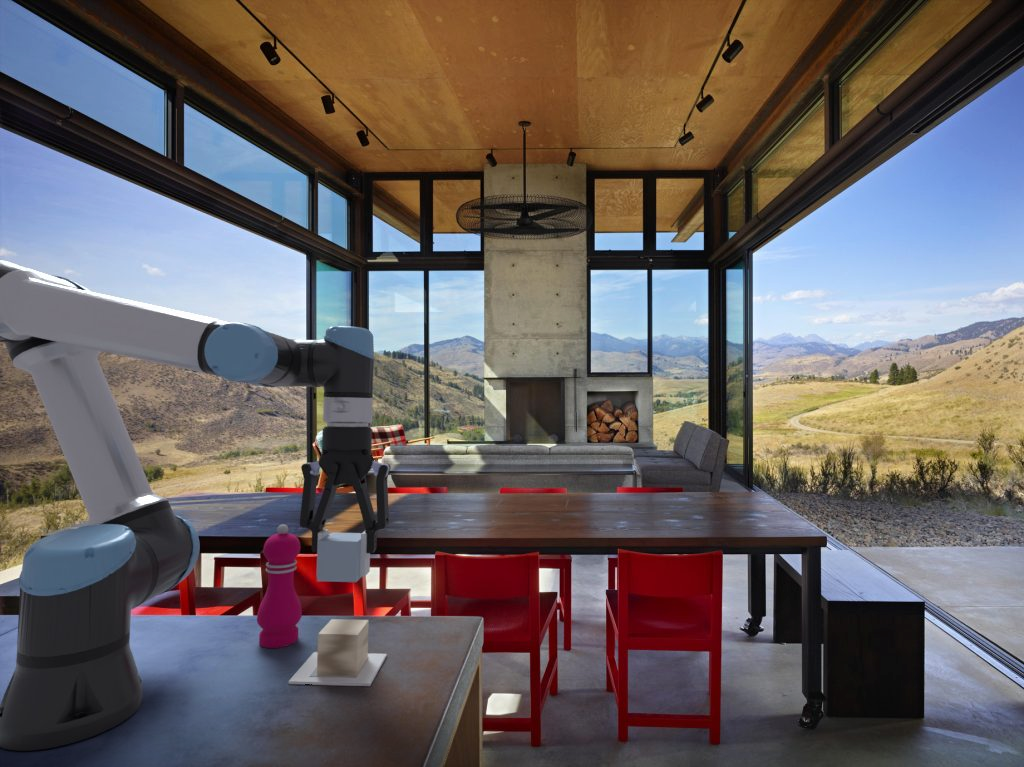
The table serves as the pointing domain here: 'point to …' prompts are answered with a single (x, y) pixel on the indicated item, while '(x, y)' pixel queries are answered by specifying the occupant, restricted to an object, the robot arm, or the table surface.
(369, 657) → the mat
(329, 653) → the maple cube
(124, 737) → the table surface
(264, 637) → the pepper mill
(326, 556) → the slate cube
